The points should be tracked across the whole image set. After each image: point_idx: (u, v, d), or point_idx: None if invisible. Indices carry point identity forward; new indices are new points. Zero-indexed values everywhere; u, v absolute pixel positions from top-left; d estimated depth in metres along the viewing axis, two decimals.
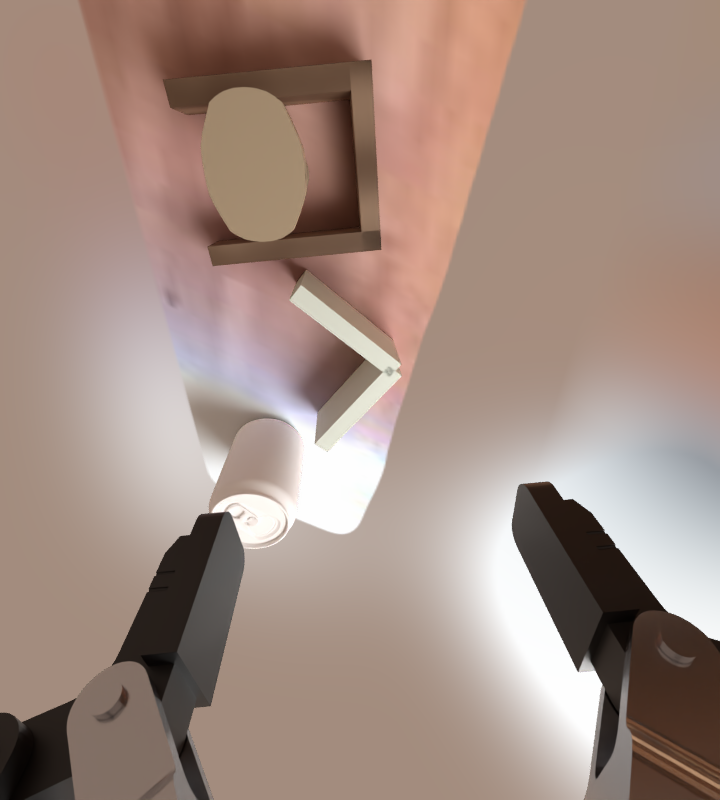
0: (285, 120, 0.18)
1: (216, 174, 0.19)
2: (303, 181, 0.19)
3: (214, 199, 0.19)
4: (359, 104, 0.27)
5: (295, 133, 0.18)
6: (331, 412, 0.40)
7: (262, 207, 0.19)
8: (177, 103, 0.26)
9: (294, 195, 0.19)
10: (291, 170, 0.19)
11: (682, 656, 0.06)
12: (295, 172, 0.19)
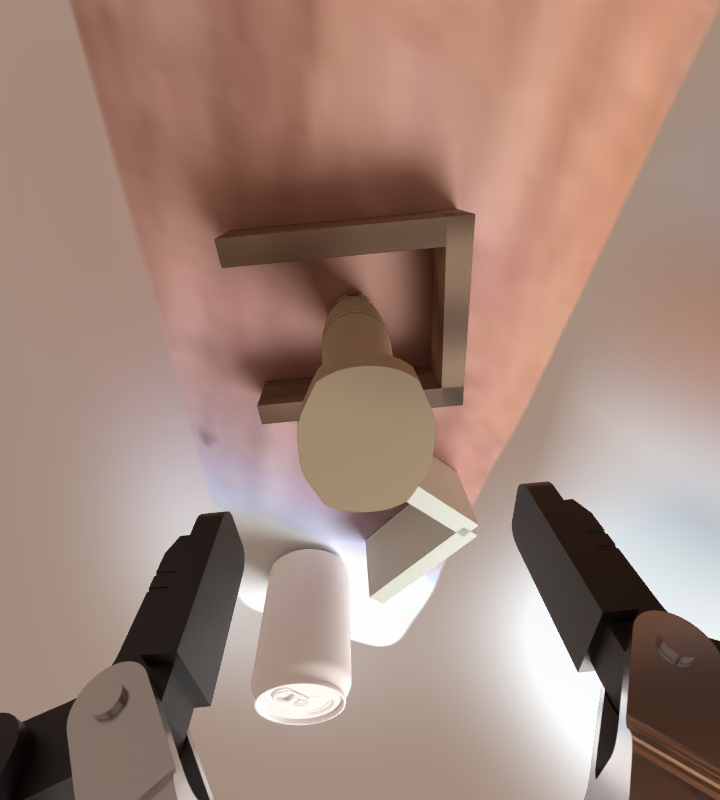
0: (418, 398, 0.13)
1: (314, 452, 0.14)
2: (430, 455, 0.14)
3: (308, 475, 0.14)
4: (454, 261, 0.22)
5: (429, 409, 0.13)
6: (386, 554, 0.35)
7: (371, 480, 0.14)
8: (230, 263, 0.21)
9: (416, 468, 0.14)
10: (417, 445, 0.14)
11: (682, 656, 0.06)
12: (422, 447, 0.14)
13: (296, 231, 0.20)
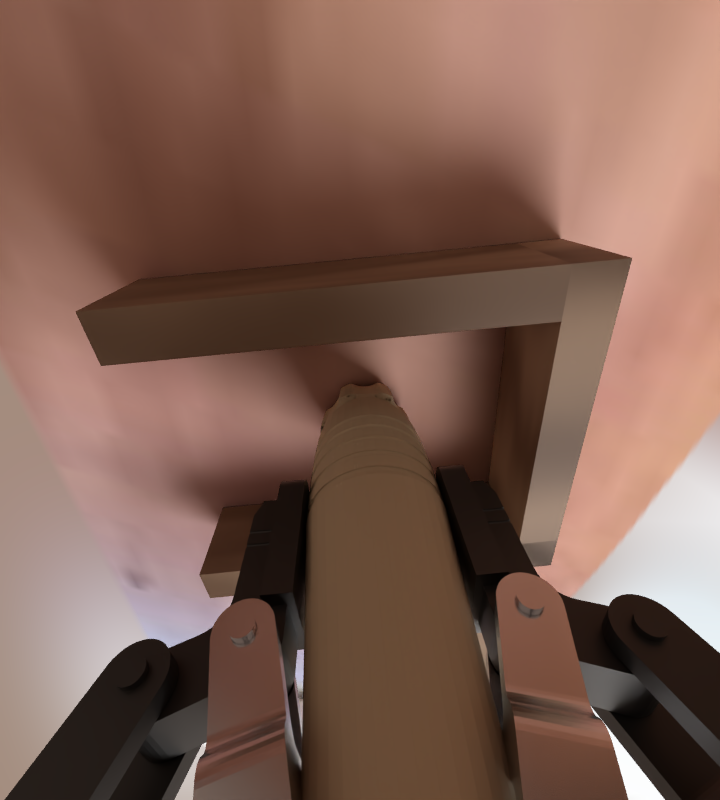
0: None
1: None
2: None
3: None
4: (574, 348, 0.11)
5: None
6: None
7: None
8: (118, 357, 0.10)
9: None
10: None
11: (530, 609, 0.07)
12: None
13: (251, 294, 0.10)
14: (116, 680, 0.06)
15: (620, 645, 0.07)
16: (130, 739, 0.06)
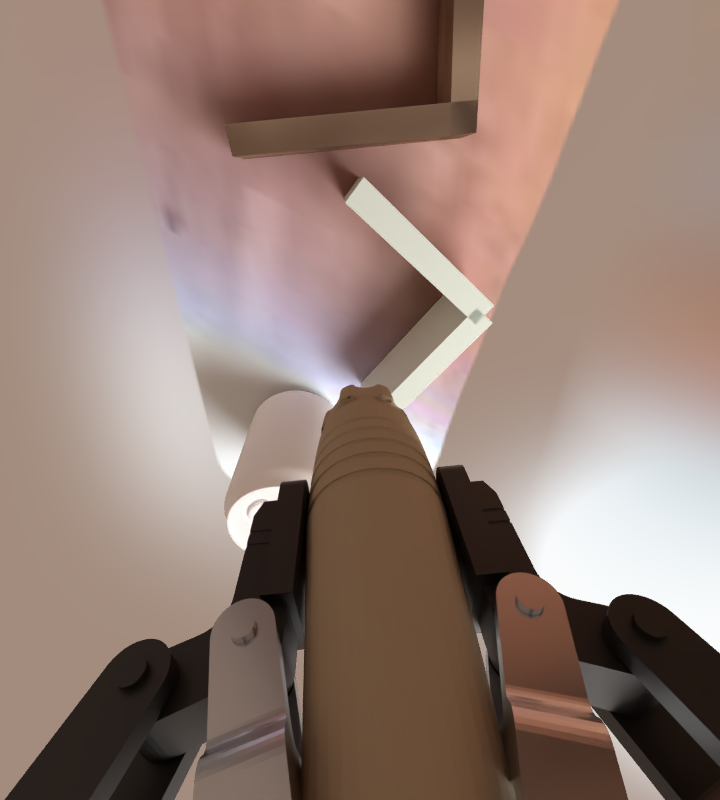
0: None
1: None
2: None
3: None
4: None
5: None
6: (384, 379, 0.30)
7: None
8: None
9: None
10: None
11: (530, 608, 0.07)
12: None
13: None
14: (116, 680, 0.06)
15: (620, 645, 0.07)
16: (130, 739, 0.06)
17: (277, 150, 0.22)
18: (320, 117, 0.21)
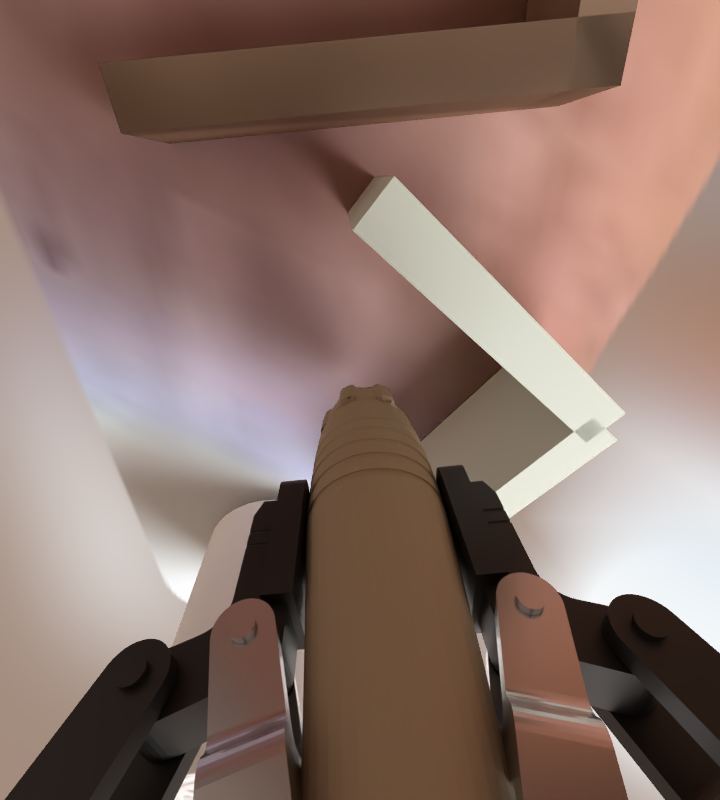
0: None
1: None
2: None
3: None
4: None
5: None
6: None
7: None
8: None
9: None
10: None
11: (530, 608, 0.07)
12: None
13: None
14: (116, 680, 0.06)
15: (620, 645, 0.07)
16: (131, 740, 0.06)
17: (213, 121, 0.11)
18: (300, 49, 0.10)
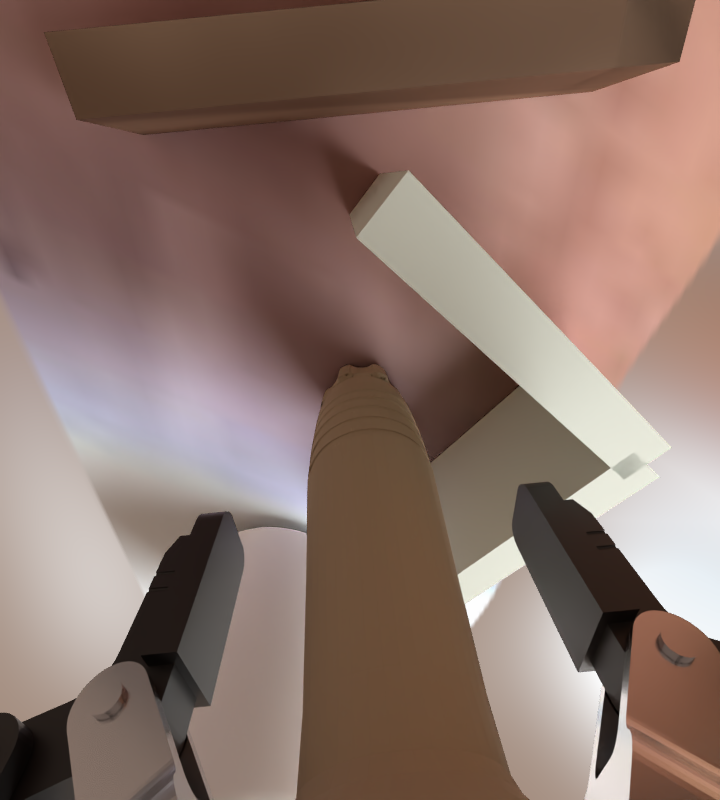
0: None
1: None
2: None
3: None
4: None
5: None
6: None
7: None
8: None
9: None
10: None
11: (682, 656, 0.06)
12: None
13: None
14: None
15: None
16: None
17: (187, 105, 0.09)
18: (292, 16, 0.08)
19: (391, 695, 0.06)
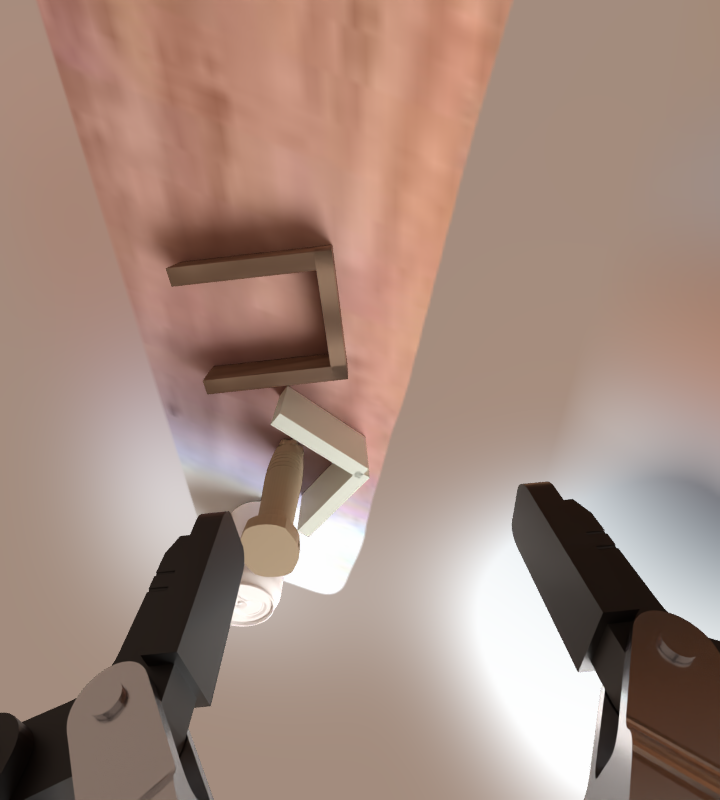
0: (286, 534, 0.31)
1: (247, 554, 0.32)
2: (297, 554, 0.33)
3: (245, 562, 0.33)
4: (323, 279, 0.33)
5: (292, 537, 0.32)
6: (312, 500, 0.45)
7: (273, 564, 0.33)
8: (177, 283, 0.33)
9: (292, 559, 0.33)
10: (290, 550, 0.32)
11: (682, 656, 0.06)
12: (292, 551, 0.32)
13: (218, 262, 0.32)
14: None
15: None
16: None
17: None
18: (256, 375, 0.37)
19: (269, 512, 0.34)
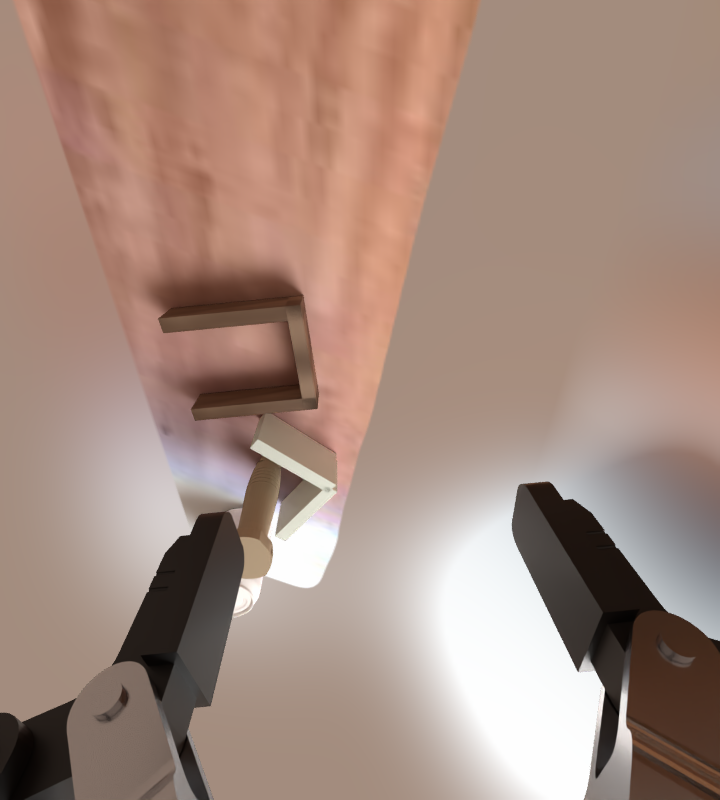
0: (260, 544, 0.37)
1: None
2: (270, 560, 0.39)
3: None
4: (294, 328, 0.38)
5: (265, 547, 0.38)
6: (288, 508, 0.51)
7: (250, 568, 0.39)
8: (168, 330, 0.38)
9: (266, 564, 0.39)
10: (264, 557, 0.38)
11: (682, 656, 0.06)
12: (266, 558, 0.39)
13: (203, 314, 0.37)
14: None
15: None
16: None
17: None
18: (237, 405, 0.43)
19: (247, 524, 0.40)
